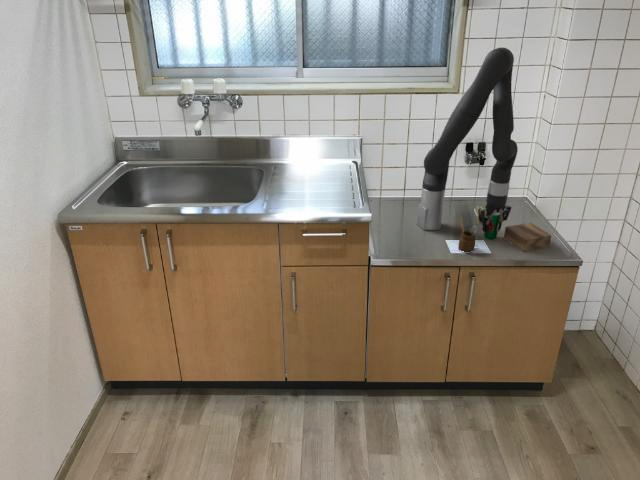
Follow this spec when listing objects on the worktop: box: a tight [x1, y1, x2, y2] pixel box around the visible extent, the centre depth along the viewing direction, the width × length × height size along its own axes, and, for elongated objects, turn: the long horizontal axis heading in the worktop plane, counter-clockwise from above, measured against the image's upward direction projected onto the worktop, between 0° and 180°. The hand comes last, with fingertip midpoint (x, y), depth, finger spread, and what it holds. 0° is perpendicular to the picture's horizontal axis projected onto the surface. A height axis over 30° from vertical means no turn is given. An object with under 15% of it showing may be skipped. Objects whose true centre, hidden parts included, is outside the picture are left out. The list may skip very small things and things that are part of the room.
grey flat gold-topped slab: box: [473, 205, 484, 225], centre depth 216 cm, size 12×18×7 cm, turn 174°
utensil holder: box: [458, 218, 478, 253], centre depth 192 cm, size 6×6×12 cm
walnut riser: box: [503, 222, 552, 252], centre depth 199 cm, size 12×12×5 cm
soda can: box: [483, 211, 501, 241], centre depth 201 cm, size 5×5×12 cm
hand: (491, 230), depth 202 cm, fingers closed on soda can, 5 cm apart
